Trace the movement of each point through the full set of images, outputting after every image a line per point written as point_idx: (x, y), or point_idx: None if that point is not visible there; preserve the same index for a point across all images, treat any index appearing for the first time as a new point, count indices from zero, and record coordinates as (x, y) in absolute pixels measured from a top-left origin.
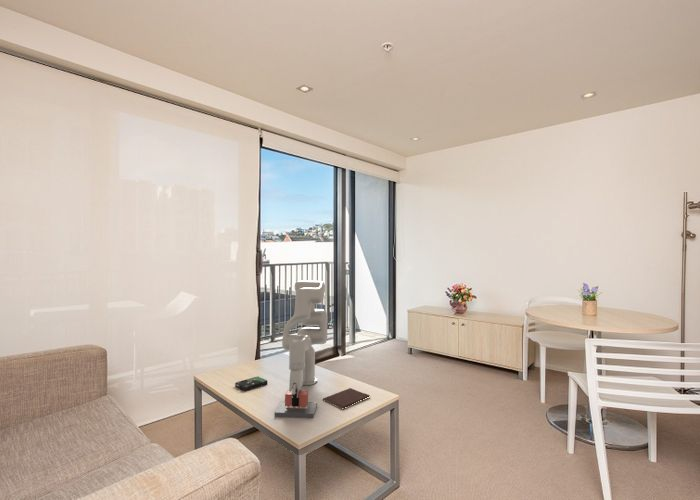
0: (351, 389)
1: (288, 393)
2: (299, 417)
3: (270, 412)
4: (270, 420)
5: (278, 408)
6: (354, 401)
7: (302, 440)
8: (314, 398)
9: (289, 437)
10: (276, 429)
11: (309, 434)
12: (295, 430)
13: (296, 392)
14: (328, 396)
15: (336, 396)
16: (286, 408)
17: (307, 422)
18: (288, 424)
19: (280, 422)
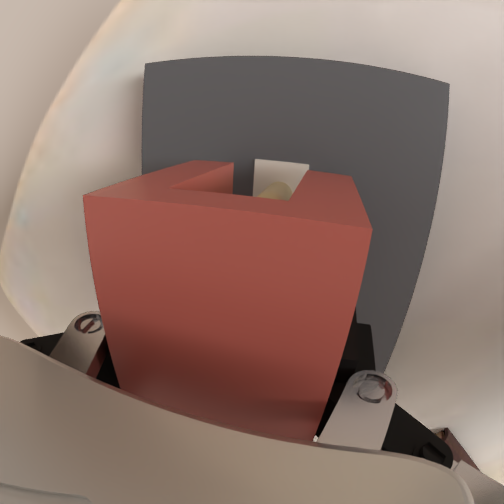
0: None
1: (139, 267)
2: None
3: (256, 5)
4: (112, 61)
5: (237, 73)
6: None
7: (8, 291)
8: (494, 383)
9: (4, 237)
10: (30, 151)
11: (42, 323)
12: (43, 262)
13: (210, 410)
14: (455, 456)
15: None
16: (240, 169)
17: None
18: (77, 214)
19: (90, 150)
